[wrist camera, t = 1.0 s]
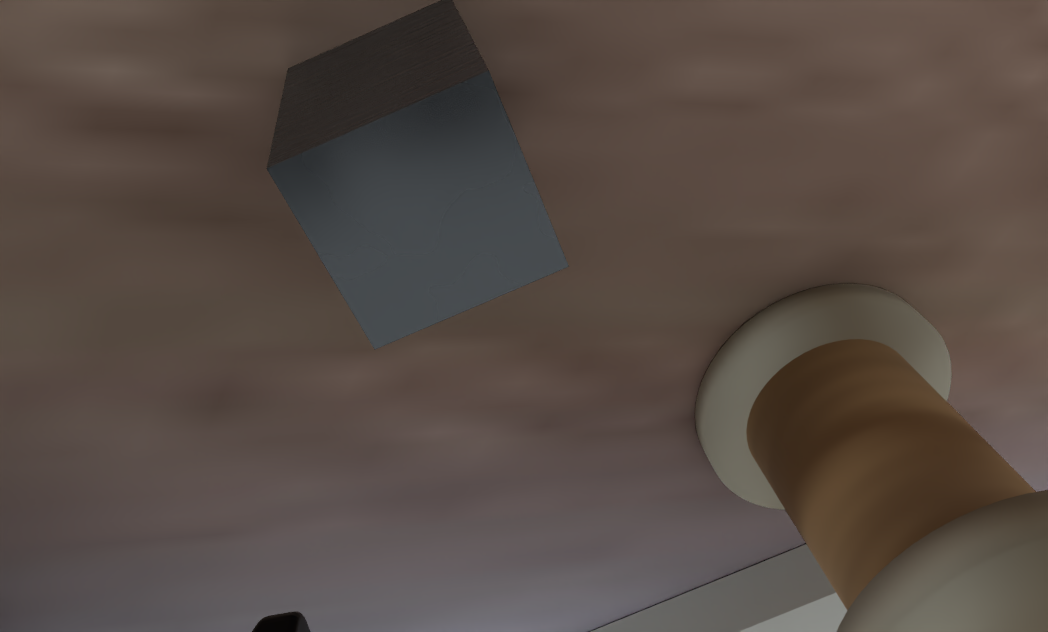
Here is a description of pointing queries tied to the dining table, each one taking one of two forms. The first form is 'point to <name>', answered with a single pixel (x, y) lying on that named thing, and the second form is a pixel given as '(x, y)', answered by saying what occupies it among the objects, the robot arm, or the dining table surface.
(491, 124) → the steel block
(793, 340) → the bobbin
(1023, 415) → the dining table surface
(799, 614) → the notched board
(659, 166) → the dining table surface
